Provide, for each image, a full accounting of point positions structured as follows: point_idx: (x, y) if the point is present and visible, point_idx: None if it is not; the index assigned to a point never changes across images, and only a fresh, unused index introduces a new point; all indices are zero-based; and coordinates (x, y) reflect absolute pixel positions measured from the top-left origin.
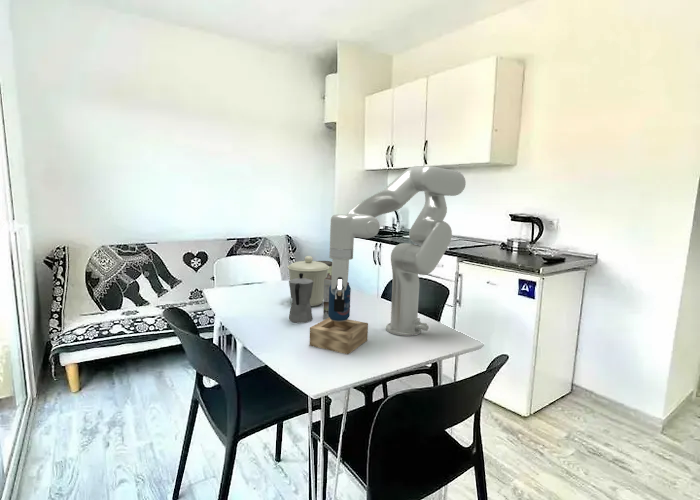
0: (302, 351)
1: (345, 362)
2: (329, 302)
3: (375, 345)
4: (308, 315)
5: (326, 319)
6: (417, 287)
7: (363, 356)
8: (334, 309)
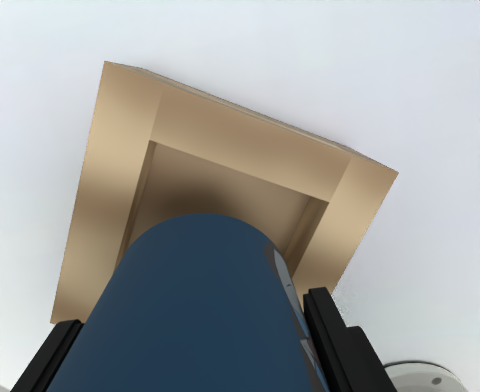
0: (50, 47)
1: (10, 263)
2: (109, 312)
3: None
4: None
5: (319, 151)
6: None
7: None
8: (53, 336)
